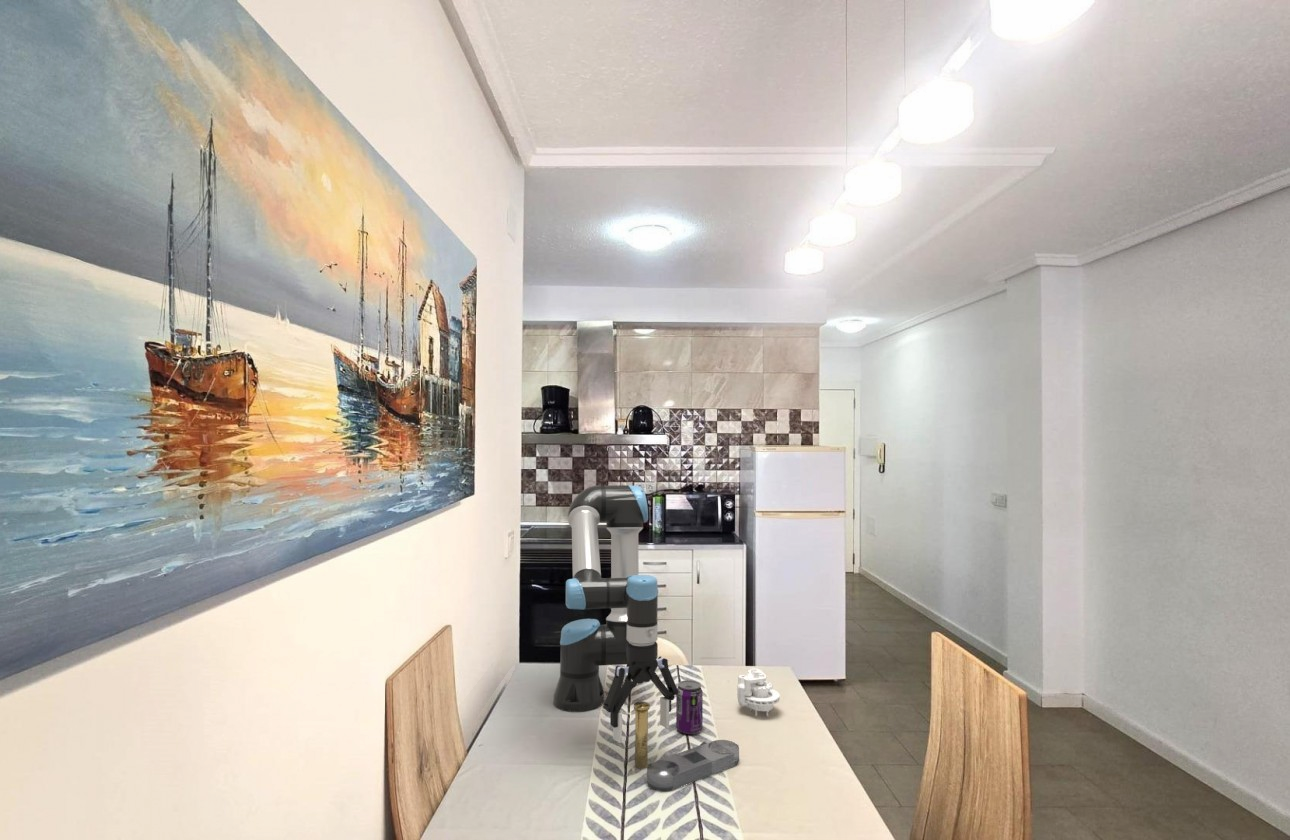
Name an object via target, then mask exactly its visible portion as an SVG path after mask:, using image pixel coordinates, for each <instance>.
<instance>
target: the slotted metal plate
mask: <svg viewBox="0 0 1290 840" xmlns="http://www.w3.org/2000/svg"><path fill="white" fill-rule="evenodd" d="M739 763H740V746H739V745H738V744H737V743H736V742H733V741H730V740H727V739H715V740H712V741H709V742H706V744H703V745H700V744H699V745H697V746H695V747H693V748H692V747H691V748H690V749H687V750H683V751H681V752H677V753H674V754H672V755H669V756H666V757H663V758H660V759H658V760H655V761H651V762H649V764H648V766H647V767H646V785H647V786H648V787H649V788H650V789H652V790H654V791H656V792H662V793H663V792H665V793H666V792H671V791H674V790H676V789H680V788H682V787H685V786H687V785H690V784H692V783H695V782H697V780H698V781H700V780H702V779H701V778H703V779H705V778H707V776H708V777H710V776H712V775H716V774H718V773H720V772H723V771H725V770H728V769H731V768H734V767H736V766H737V765H738V764H739ZM715 773H716V774H715ZM699 779H700V780H699ZM694 781H695V782H694ZM689 783H690V784H689ZM686 784H687V785H686ZM684 785H685V786H684ZM681 786H682V787H681Z"/></svg>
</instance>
